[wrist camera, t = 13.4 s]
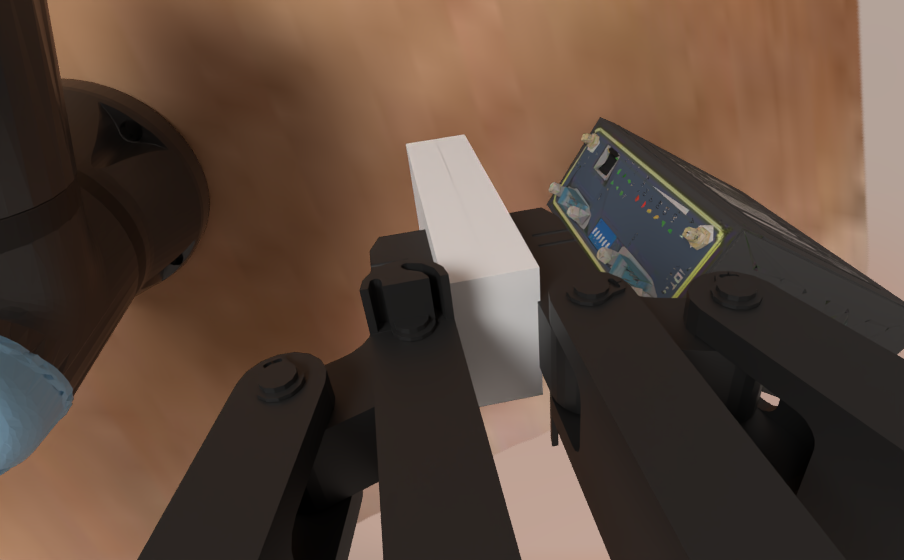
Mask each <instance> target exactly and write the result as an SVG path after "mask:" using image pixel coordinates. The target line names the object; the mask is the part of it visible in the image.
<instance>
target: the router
mask: <svg viewBox="0 0 904 560" xmlns="http://www.w3.org/2000/svg"><path fill="white" fill-rule="evenodd" d="M581 140H582V141H584V142H585V143H584V145H583V146H582V148H581V149H580V151H579V153H578V154H577V156H576V158H575V159H574V161H573V163H572V164H571V166H570V167H569V169H568V171H567V172H566V174H565V176H564V177H563V179H562V180H561V182H560V184H558V183H556V182H553V183H552V184H551V185H550V187H549V192H551V193H553V195H552V197H551V198H550V200H549V202H548V203H547V206H548V207H549V208H550V210H551V211H552V213H553V214H555V215H556V216H558V217H559V218H560V219H561V221H562V222H563V223H564V225H565V226H566V228H567V231H569V232H570V233H571V234H572V236H573V237H574V239H575V241H577V243H578V244H579V245H580V247H581V248H582V249H583V251H584V252H585V254H586V255H587V256H588V258H589V259H590V260H591V262H592V263H593V265H594V266H595V267H596V269H597V270H598V271H600V272H607V273H610V274H613V275H615V276H618V277H620V278H622V279H623V280H624V281H626V282H627V283H628V284H629V285H631V287H632V288H633V289H634V290H635V292H636V293H637V294H638V296H643V297H654V298H686V295H687V289H688V287H689V285H690V283H691V281H692V280H694V279H695V278H697V277H699V276H701V275H702V274H707V273H712V272H716V271H734V272H739V273H744V274H749V275H753V276H756V277H758V278H760V279H763V280H765V281H768V282H770V283H771V284H773V285H775V286H777V287H778V288H780V289H782V290H784V291H785V292H787V293H789V294H791V295H792V296H794V297H796V298H798V299H799V300H801V301H803V302H805V303H806V304H808V305H810V306H812V307H814V308H815V309H817V310H819V311H821V312H822V313H824V314H826V315H828V316H829V317H831V318H833V319H835V320H836V321H838V322H840V323H842V324H843V325H845V326H847V327H849V328H850V329H852V330H854V331H856V332H857V333H859V334H861V335H863V336H865V337H866V338H868V339H870V340H872V341H873V342H875V343H877V344H879V345H880V346H882V347H884V348H886V349H887V350H889V351H891V352H893V353H894V354H896V355H897V354H898V353H899V352H900V351H902V350H903V349H904V301H902V300H901V299H900V298H898V297H897V296H895V295H893V294H892V293H891V292H889V291H888V290H886V289H885V288H883V287H882V286H880V285H879V284H877V283H876V282H874V281H873V280H872V279H870V278H869V277H867V276H866V275H864V274H863V273H861V272H860V271H858V270H857V269H855V268H854V267H852V266H851V265H849V264H848V263H847V262H845V261H844V260H842V259H841V258H839V257H838V256H836V255H835V254H833V253H832V252H830V251H829V250H827V249H826V248H824V247H823V246H821V245H820V244H819V243H817V242H816V241H814V240H813V239H811V238H810V237H808V236H807V235H805V234H804V233H802V232H801V231H799V230H798V229H796V228H795V227H794V226H792V225H791V224H789V223H788V222H786V221H785V220H783V219H782V218H780V217H779V216H777V215H776V214H774V213H773V212H771V211H770V210H768V209H767V208H766V207H764V206H763V205H761V204H760V203H758V202H757V201H755V200H754V199H752V198H751V197H749V196H748V195H746V194H745V193H743V192H742V191H740V190H738V189H736V188H735V187H733V186H731V185H729V184H727V183H725V182H723V181H721V180H719V179H718V178H716V177H714V176H712V175H710V174H708V173H706V172H705V171H703V170H701V169H699V168H697V167H695V166H693V165H691V164H690V163H688V162H686V161H684V160H682V159H680V158H678V157H677V156H675V155H673V154H671V153H669V152H667V151H665V150H663V149H662V148H660V147H658V146H656V145H654V144H652V143H650V142H649V141H647V140H645V139H643V138H641V137H639V136H637V135H635V134H634V133H632V132H630V131H628V130H626V129H624V128H622V127H621V126H619V125H616V124H615V123H612V122H610V121H608V120H606V119H603V118H601V117H600V118H599V120H598V122H597V123H596V125H595V127H594V128H593V130H592V131H591V133H590V134H588V133H585V134H583V136H582V139H581ZM762 392H765V393H768V394H770V395H773V396H776V395H774V394H773V393H772V392H770V391H769V390H768V389H766V388H765V387H764V386H763V387H762ZM776 397H777V396H776Z"/></svg>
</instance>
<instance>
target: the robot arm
mask: <svg viewBox="0 0 904 560" xmlns="http://www.w3.org/2000/svg"><path fill="white" fill-rule="evenodd" d="M406 148H407V154H408V160H409V167H410V173H411V179H412V185H413V192H414V198H415V204H416V210H417V217H418V223H419V229H420V230H418V231H413V232H407V233H401V234H395V235H389V236H383V237H379V238H378V239H377V241H376V242H375V244H374V245H373V247H372V248H371V250H370V262H371V272H370V274H369V275H368V276H367V277H366V278H365V279H364V280H363V281H362V284H361V287H360V294H361V298H362V302H363V306H364V311H365V315H366V319H367V323H368V327H369V331H370V337H369V338H368V339H367V340H366V342H365V343H364V344H363V345H362V346H360V347H359V348H358V349H356V350H355V351H354V352H352V353H350V354H349V355H347V356H345V357H343V358H341V359H338V360H336V361H334V362H331V363H329V364H327V365H324V364H323V362H322V361H321V360H320V359H319V358H317V357H315V356H313V355H311V354H307V353H298V352H293V353H286V354H280V355H276V356H274V357H271V358H269V359H266V360H264V361H261V362H260V363H258V364H257V365H256V366H254V367H253V368H251V369H250V370H248V371H247V372H246V373H245V374H244V375H243V377H242V378H241V379H240V380H239V382H238V383H237V384H236V386H235V387H234V389H233V391H232V393H231V395H230V396H229V398H228V400H227V402H226V403H225V405H224V407H223V409H222V410H221V412H220V414H219V416H218V418H217V419H216V421H215V423H214V425H213V426H212V428H211V430H210V432H209V434H208V435H207V437H206V439H205V441H204V442H203V444H202V446H201V448H200V449H199V451H198V453H197V455H196V457H195V458H194V460H193V462H192V464H191V465H190V467H189V469H188V471H187V473H186V474H185V476H184V478H183V480H182V481H181V483H180V485H179V487H178V488H177V490H176V492H175V494H174V496H173V497H172V499H171V501H170V503H169V504H168V506H167V508H166V510H165V512H164V513H163V515H162V517H161V519H160V520H159V522H158V524H157V526H156V527H155V529H154V531H153V533H152V535H151V536H150V538H149V540H148V542H147V543H146V545H145V547H144V549H143V551H142V552H141V554H140V556H139V558H138V559H137V560H348V556H349V552H350V548H351V543H352V539H353V535H354V531H355V527H356V523H357V519H358V514H359V510H360V506H361V502H362V497H363V490H364V489H366V488H367V487H369V486H371V485H373V484H375V483H377V482H379V492H380V509H381V526H382V542H383V560H521V557H520V553H519V549H518V546H517V542H516V538H515V535H514V531H513V528H512V524H511V520H510V517H509V513H508V510H507V506H506V502H505V499H504V495H503V492H502V488H501V485H500V481H499V477H498V474H497V470H496V466H495V463H494V459H493V455H492V452H491V448H490V445H489V441H488V437H487V434H486V430H485V427H484V423H483V419H482V416H481V412H480V409H479V407H482V406H487V405H492V404H497V403H502V402H507V401H512V400H517V399H522V398H528V397H533V396H538V395H543V388H542V374H543V376H544V379H545V381H546V383H547V385H548V388H549V390H550V419H551V441H552V446H557V445H558V433H559V435H560V438H561V440H562V442H563V445H564V447H565V450H566V452H567V455H568V457H569V460H570V462H571V464H572V467H573V469H574V472H575V474H576V476H577V479H578V481H579V484H580V486H581V488H582V491H583V493H584V496H585V498H586V501H587V503H588V506H589V508H590V510H591V513H592V515H593V517H594V520H595V522H596V525H597V527H598V530H599V532H600V535H601V537H602V539H603V542H604V544H605V547H606V549H607V551H608V554H609V556H610V559H611V560H904V359H903V358H901V357H900V356H898V355H896V354H894V353H893V352H891V351H889V350H887V349H886V348H884V347H882V346H880V345H879V344H877V343H875V342H873V341H872V340H870V339H868V338H866V337H865V336H863V335H861V334H859V333H857V332H856V331H854V330H852V329H850V328H849V327H847V326H845V325H843V324H842V323H840V322H838V321H836V320H835V319H833V318H831V317H829V316H828V315H826V314H824V313H822V312H821V311H819V310H817V309H815V308H814V307H812V306H810V305H808V304H806V303H805V302H803V301H801V300H799V299H798V298H796V297H794V296H792V295H791V294H789V293H787V292H785V291H784V290H782V289H780V288H778V287H777V286H775V285H773V284H771V283H770V282H768V281H765V280H763V279H760V278H758V277H756V276H753V275H749V274H744V273H739V272H734V271H716V272H712V273H707V274H702V275H701V276H699V277H697V278H695V279H694V280H692V281H691V283H690V285H689V287H688V289H687V295H686V298H654V297H643V296H638V294H637V293H636V292H635V290H634V289H633V288H632V287H631V285H629V284H628V283H627V282H626V281H624V280H623V279H622V278H620V277H618V276H615V275H613V274H610V273H607V272H600V271H598V270H597V269H596V267H595V266H594V265H593V263H592V262H591V260H590V259H589V258H588V256H587V255H586V254H585V252H584V251H583V249H582V248H581V247H580V245H579V244H578V243H577V241H575V239H574V237H573V236H572V234H571V233H570V232H569V231H567V228H566V226H565V225H564V223H563V222H562V221H561V219H560V218H559V217H558V216H556V215H555V214H553V213H551V212H549V211H547V210H545V209H543V208H536V209H530V210H524V211H519V212H513V213H508V211H507V209H506V207H505V206H504V204H503V202H502V200H501V198H500V197H499V195H498V193H497V191H496V190H495V188H494V186H493V184H492V182H491V181H490V179H489V177H488V175H487V174H486V172H485V170H484V168H483V167H482V165H481V163H480V161H479V159H478V158H477V156H476V154H475V152H474V151H473V149H472V147H471V145H470V144H469V142H468V140H467V138H466V136H465V135H458V136H452V137H446V138H440V139H433V140H427V141H421V142H415V143H408V144H406ZM208 216H209V192H208V187H207V182H206V179H205V176H204V173H203V170H202V168H201V166H200V164H199V162H198V159H197V158H196V156H195V154H194V152H193V151H192V149H191V148H190V146H189V145H188V144H187V142H186V141H185V140H184V138H183V137H182V136H181V135H180V134H179V133H178V132H177V130H176V129H175V128H174V127H173V126H172V125H171V124H170V123H168V122H167V121H166V120H165V119H164V118H163V117H161V116H160V115H159V114H158V113H156V112H155V111H154V110H152V109H151V108H149V107H148V106H146V105H145V104H143V103H142V102H140V101H138V100H136V99H135V98H133V97H131V96H129V95H127V94H125V93H122V92H120V91H118V90H115V89H113V88H110V87H107V86H104V85H100V84H96V83H92V82H87V81H82V80H74V79H61V77H60V71H59V66H58V60H57V55H56V49H55V43H54V38H53V32H52V26H51V21H50V15H49V10H48V4H47V0H0V475H2V474H4V473H5V472H7V471H8V470H9V469H10V468H12V467H14V466H16V465H17V464H19V463H21V462H23V461H24V460H25V459H27V458H28V457H29V456H30V455H31V454H32V453H33V452H34V451H35V449H36V448H37V447H38V446H39V445H40V443H41V442H42V441H43V440H44V438H45V437H46V436H47V435H48V434H49V432H50V431H51V430H52V429H53V427H54V426H55V425H56V424H57V423H58V421H59V420H60V419H62V418H63V417H64V416H65V415H66V414H67V412H68V410H69V408H70V407H71V406H72V401H73V400H74V397H73V396H74V394H75V393H76V391H77V390H78V388H79V386H80V385H81V383H82V381H83V380H84V378H85V377H86V375H87V373H88V372H89V370H90V368H91V367H92V365H93V364H94V362H95V360H96V359H97V357H98V356H99V354H100V352H101V351H102V349H103V347H104V346H105V344H106V343H107V341H108V339H109V338H110V336H111V334H112V333H113V331H114V330H115V328H116V326H117V325H118V323H119V321H120V320H121V318H122V317H123V315H124V313H125V312H126V310H127V308H128V307H129V305H130V304H131V302H132V300H133V298H134V297H135V296H136V295H138V294H140V293H142V292H143V291H145V290H147V289H149V288H151V287H152V286H154V285H156V284H158V283H160V282H161V281H163V280H165V279H166V278H168V277H169V276H171V275H172V274H174V273H175V272H176V271H177V270H178V269H180V268H181V267H182V266H183V265H184V263H185V262H186V261H187V260H188V259H189V258H190V256H191V255H192V253H193V252H194V250H195V248H196V246H197V244H198V243H199V241H200V239H201V237H202V235H203V233H204V231H205V228H206V225H207V221H208ZM763 386H764V387H765V388H766V389H768V390H769V391H770V392H772V393H773V394H774V395H776V396H777V397H778V398H780V401H779V405H778V406H773V405H771V404H769V403H768V402H766V401H765V400H763V399H762V398H761V397H760V394H761V391H762V387H763Z"/></svg>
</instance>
